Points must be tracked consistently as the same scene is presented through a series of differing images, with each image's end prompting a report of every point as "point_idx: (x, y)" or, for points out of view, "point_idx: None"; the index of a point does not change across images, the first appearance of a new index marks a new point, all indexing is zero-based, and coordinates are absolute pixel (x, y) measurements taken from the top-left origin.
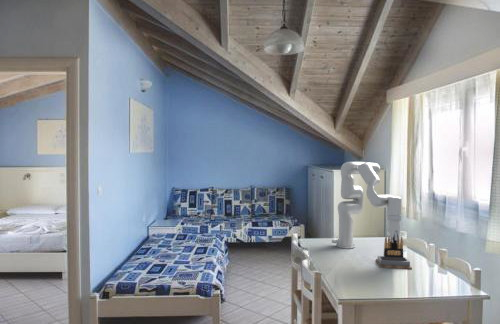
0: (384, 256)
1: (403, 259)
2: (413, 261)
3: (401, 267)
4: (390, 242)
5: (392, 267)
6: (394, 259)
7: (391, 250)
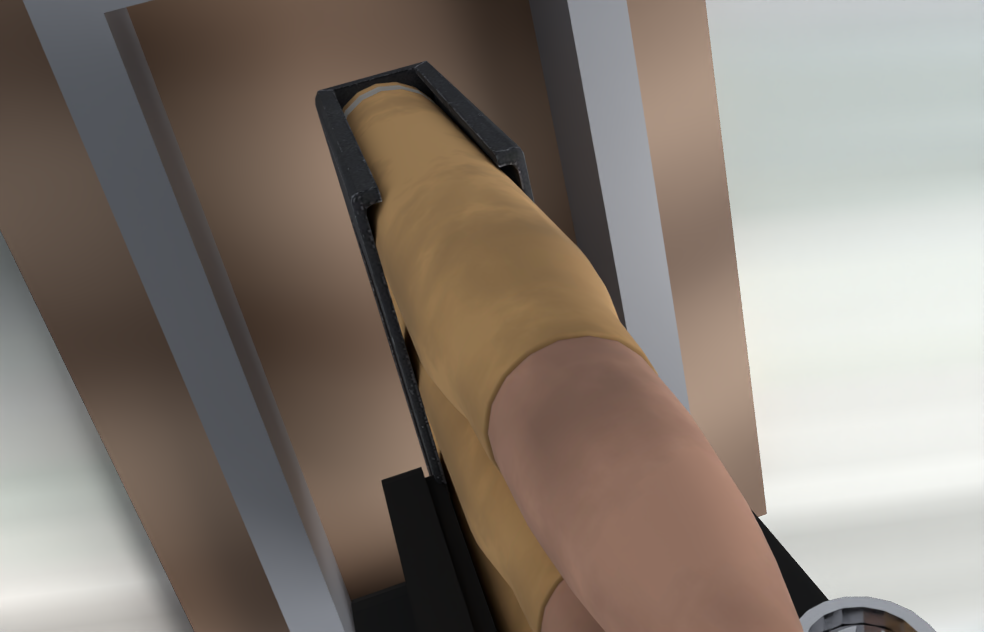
0: (315, 103)
1: None
2: None
3: (137, 509)
4: None
5: (50, 304)
6: None
7: (434, 441)
